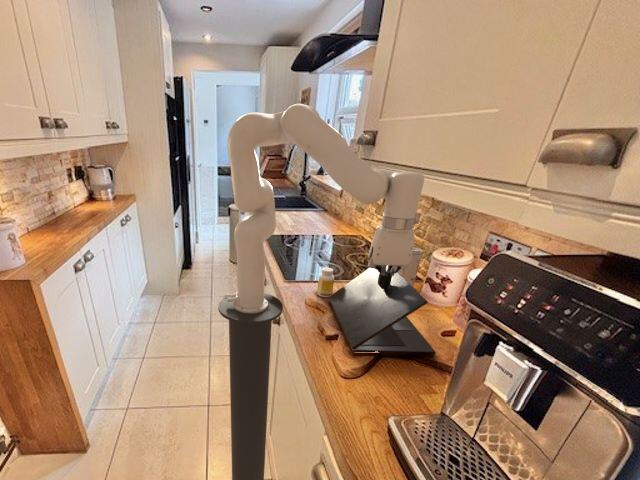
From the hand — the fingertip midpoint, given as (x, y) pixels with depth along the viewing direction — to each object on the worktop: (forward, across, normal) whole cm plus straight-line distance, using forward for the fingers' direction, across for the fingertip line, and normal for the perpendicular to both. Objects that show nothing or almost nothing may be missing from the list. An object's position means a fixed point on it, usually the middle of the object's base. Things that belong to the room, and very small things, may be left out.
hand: (383, 286), depth 93 cm
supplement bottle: (+14, +11, -22) cm, 28 cm away
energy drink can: (+13, -21, -30) cm, 39 cm away
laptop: (+13, 0, 0) cm, 13 cm away
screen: (+4, +3, 0) cm, 5 cm away
